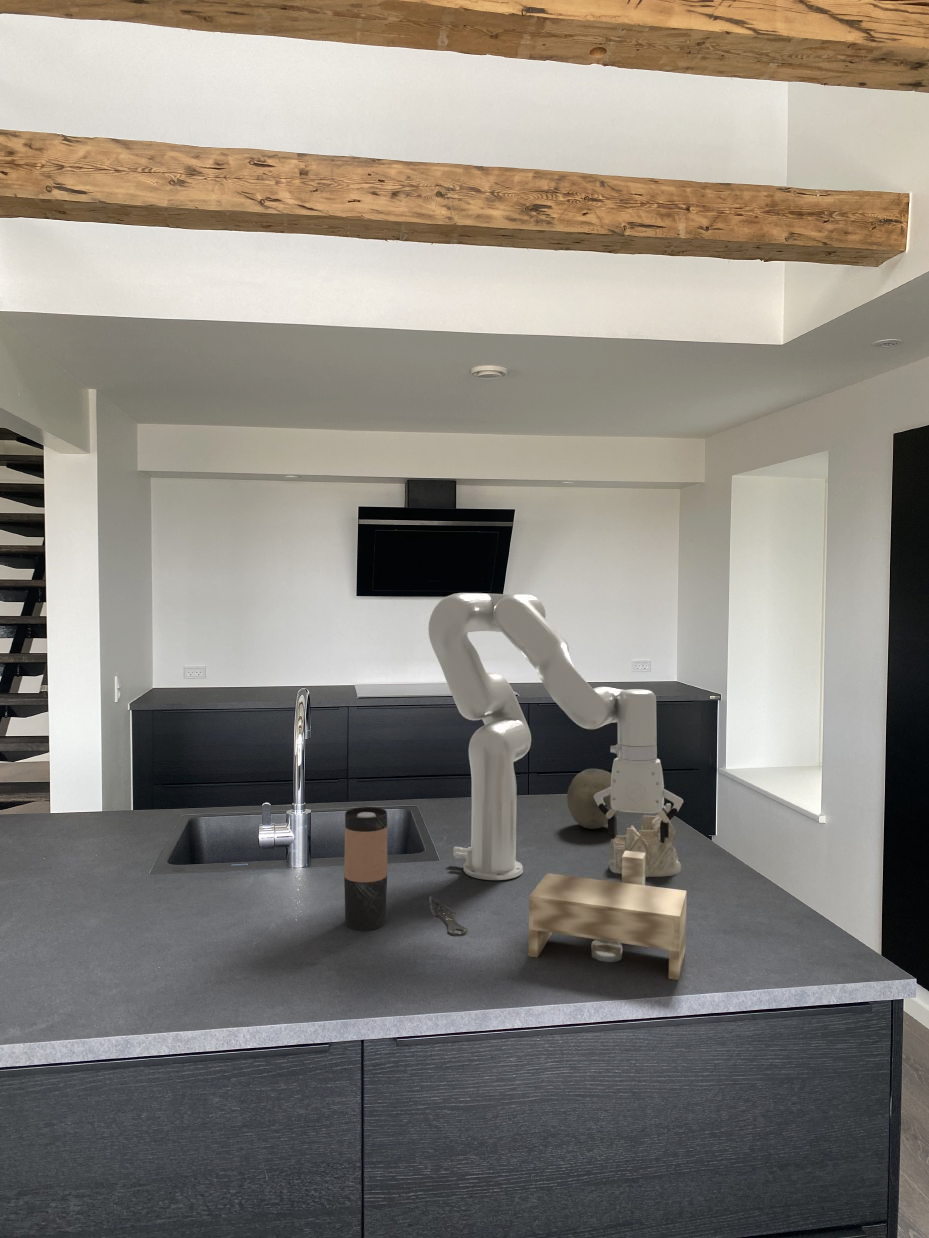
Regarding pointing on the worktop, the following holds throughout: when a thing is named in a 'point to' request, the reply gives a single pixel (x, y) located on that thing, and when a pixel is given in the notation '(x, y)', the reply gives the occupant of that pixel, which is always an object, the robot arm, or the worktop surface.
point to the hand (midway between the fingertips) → (638, 839)
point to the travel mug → (365, 868)
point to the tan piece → (633, 867)
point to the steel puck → (606, 950)
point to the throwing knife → (448, 912)
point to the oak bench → (609, 914)
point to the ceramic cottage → (647, 848)
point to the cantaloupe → (588, 797)
